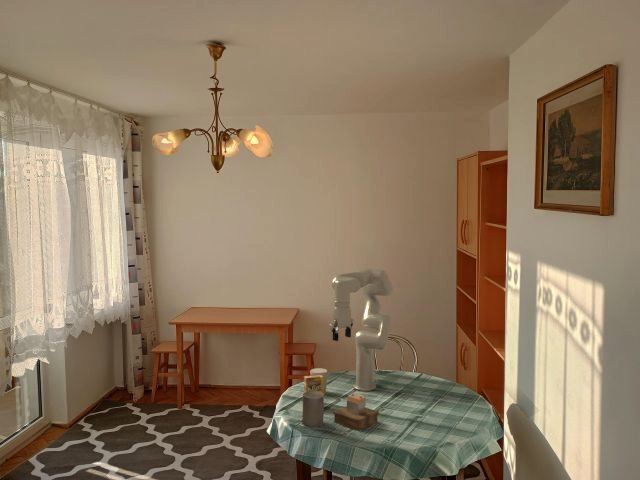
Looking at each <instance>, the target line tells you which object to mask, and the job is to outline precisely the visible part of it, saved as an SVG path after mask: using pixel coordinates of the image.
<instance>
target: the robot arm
mask: <svg viewBox="0 0 640 480" xmlns="http://www.w3.org/2000/svg"><path fill="white" fill-rule="evenodd" d="M331 286H332V289H333V290H334V307H333V309H332V316H331V323H330V324H329V327H330V328H329V329H330V330H331V333H332V341H335V342H338V341H339V330H340V329H345V330H344V333H345V334H344V336H345V338H352V329H353V328H352V327H353V326H354V322H355V319H354V318H352V311H351V310H352V309H351V305H350V304H351V303H350V302H351V293H357V292H358V291H360V289H362V293H363V295H364V301H365V305H364V309H363V315H362V317H361V326H362V327H363V328H364V329H361V330H358V331H357V332H356V333H355V336H354V342H355V349H356V351H355V352H356V356H355V358H356V359H355V360H356V361H355V363H356V365H355V366H356V367H355V383H353V384H352V388H353V389H354V390H357V391H361V392H370V391H374V390H376V389H377V385H376V384H375V382H378V381H379V378H378V377H374V374H375V373H374V372H375V370H374V369H375V365H374V364H375V355H374V353H373V350H376V351H383V350H385V349H386V347H387V345H388V339H389V335H390V330H391V323H392V320H391V317H390V315H389V314H388V313H385V312H381V302H380V300H379V298H378V297H377V296H379V297H389V296H391V295H392V293H393V289H394V287H393V283H392V281H391V279H390V277H389V275H388V273H387V272H386V271H385V270H384V269H382V268H371V267H370V268H364V269H362V270H361V269H360V270H358V271H356V272H355V271H354V272H347V273H342V274H339V275H336V276H334V278H333V279H332V282H331ZM366 329H367V330H366ZM373 330H374V331H373Z"/></svg>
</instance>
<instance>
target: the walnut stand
mask: <svg viewBox="0 0 640 480" xmlns="http://www.w3.org/2000/svg"><path fill="white" fill-rule="evenodd" d="M332 414H333V415H334V420H333V421H334V422H333V423H336V424H338V425H341V426H344V427H347V428H350V429H352V430H355V431H357V432H359V431H361V430H362V429H365V428H367V427H369V426H371V425H375V424H376V423H378V415H380V411H378V410H375V409H372V408H368V407H366V406H365V412H364V413H362V414H360V415H357V414H354V413H351V412H348V411H347V405H346V406H344V407H342V408H338V409H336V410H334V411H332Z"/></svg>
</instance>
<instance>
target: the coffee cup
mask: <svg viewBox="0 0 640 480" xmlns="http://www.w3.org/2000/svg"><path fill="white" fill-rule="evenodd" d="M309 373H310V375H309V376H311V375H322V376H323V394H324V395H325V394H326V393H327V386H328V385H327V383H328V373H329V372H328V370H327V369H326V368H322V367H320V368H319V367H318V368H312V369H311V370H310V371H309Z"/></svg>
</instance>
